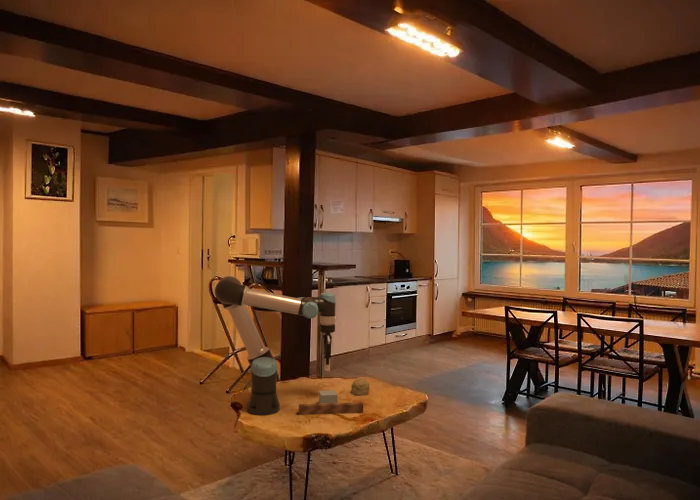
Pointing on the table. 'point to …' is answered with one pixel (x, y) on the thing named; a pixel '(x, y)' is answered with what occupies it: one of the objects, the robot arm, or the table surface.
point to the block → (328, 396)
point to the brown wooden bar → (330, 408)
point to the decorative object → (360, 387)
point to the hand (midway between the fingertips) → (327, 370)
